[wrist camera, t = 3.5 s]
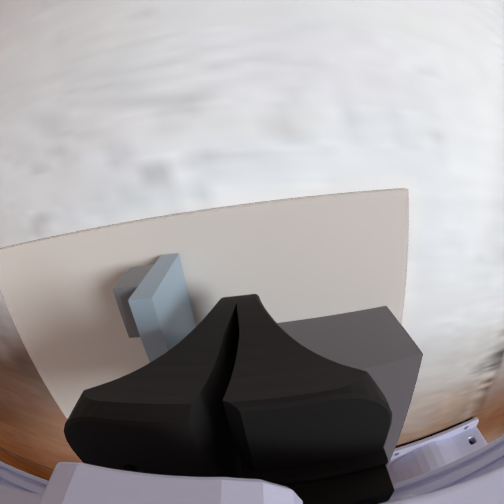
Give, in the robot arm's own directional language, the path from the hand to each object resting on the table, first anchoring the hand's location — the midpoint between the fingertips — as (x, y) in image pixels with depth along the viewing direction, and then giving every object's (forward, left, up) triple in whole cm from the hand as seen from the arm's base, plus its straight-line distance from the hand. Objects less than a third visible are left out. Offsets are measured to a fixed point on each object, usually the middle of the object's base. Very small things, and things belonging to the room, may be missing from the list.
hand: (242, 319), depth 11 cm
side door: (+3, +5, -2) cm, 6 cm away
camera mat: (+3, +5, -3) cm, 7 cm away
